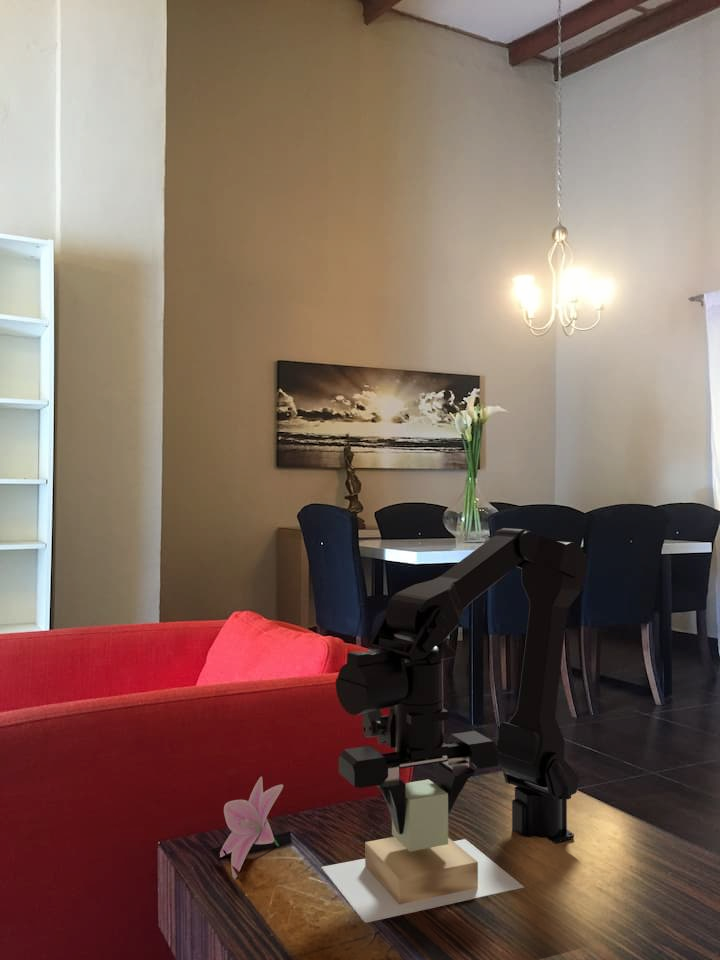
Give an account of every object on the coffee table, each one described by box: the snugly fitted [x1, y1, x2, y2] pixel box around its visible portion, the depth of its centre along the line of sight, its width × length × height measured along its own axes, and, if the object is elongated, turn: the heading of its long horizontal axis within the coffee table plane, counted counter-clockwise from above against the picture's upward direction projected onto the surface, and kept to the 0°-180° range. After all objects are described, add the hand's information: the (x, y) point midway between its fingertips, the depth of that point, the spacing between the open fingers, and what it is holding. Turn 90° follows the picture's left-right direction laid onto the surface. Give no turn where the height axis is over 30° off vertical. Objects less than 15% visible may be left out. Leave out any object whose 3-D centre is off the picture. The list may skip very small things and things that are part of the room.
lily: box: [219, 776, 284, 880], centre depth 111 cm, size 12×12×10 cm
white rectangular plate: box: [320, 838, 525, 924], centre depth 104 cm, size 20×14×1 cm
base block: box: [364, 836, 478, 905], centre depth 104 cm, size 10×10×3 cm
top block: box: [391, 779, 449, 852], centre depth 104 cm, size 5×5×6 cm
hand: (419, 829), depth 104 cm, fingers closed on top block, 5 cm apart
